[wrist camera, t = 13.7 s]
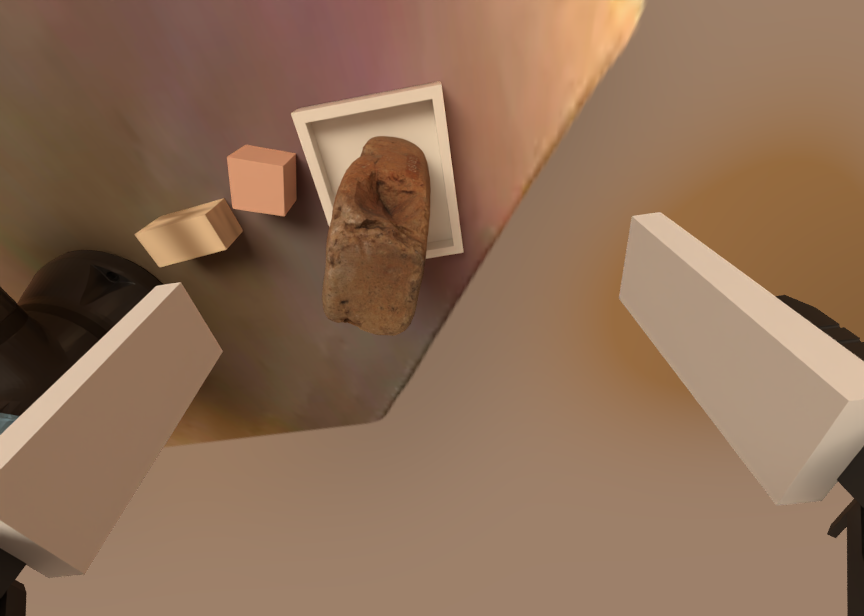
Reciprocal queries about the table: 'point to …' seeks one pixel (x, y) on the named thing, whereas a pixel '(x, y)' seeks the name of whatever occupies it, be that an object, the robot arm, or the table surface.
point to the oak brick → (190, 233)
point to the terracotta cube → (262, 180)
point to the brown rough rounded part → (378, 238)
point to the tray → (395, 117)
